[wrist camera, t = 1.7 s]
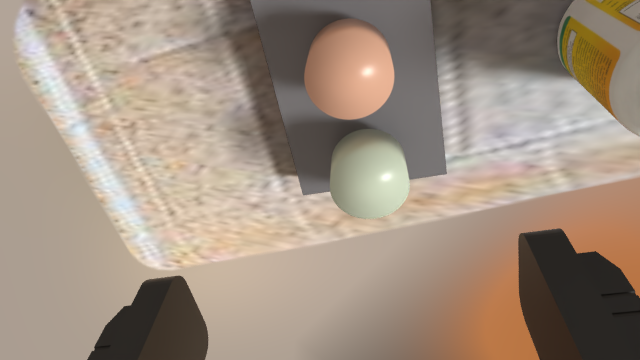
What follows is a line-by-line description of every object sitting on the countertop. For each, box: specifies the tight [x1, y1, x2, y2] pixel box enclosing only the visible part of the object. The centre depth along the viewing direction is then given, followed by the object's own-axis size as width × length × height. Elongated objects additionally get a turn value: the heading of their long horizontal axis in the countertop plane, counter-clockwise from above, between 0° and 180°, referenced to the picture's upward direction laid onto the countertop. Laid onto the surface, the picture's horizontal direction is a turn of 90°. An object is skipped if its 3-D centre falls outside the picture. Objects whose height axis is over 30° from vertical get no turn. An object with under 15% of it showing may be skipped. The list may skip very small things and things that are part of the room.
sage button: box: [330, 129, 410, 219], centre depth 25 cm, size 4×4×2 cm
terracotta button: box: [304, 18, 394, 120], centre depth 22 cm, size 4×4×2 cm
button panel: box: [250, 0, 447, 195], centre depth 25 cm, size 15×8×2 cm, turn 12°
